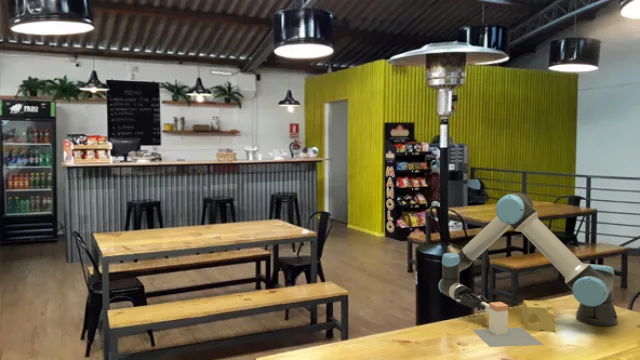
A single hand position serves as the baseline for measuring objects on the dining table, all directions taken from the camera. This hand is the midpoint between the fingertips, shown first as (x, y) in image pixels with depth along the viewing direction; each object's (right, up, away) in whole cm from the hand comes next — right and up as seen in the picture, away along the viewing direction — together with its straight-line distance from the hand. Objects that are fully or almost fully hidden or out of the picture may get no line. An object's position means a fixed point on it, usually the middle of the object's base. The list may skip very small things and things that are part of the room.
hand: (491, 310), depth 209 cm
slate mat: (+3, -8, -9) cm, 12 cm away
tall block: (+2, -8, -4) cm, 9 cm away
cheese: (+19, -8, +2) cm, 21 cm away
